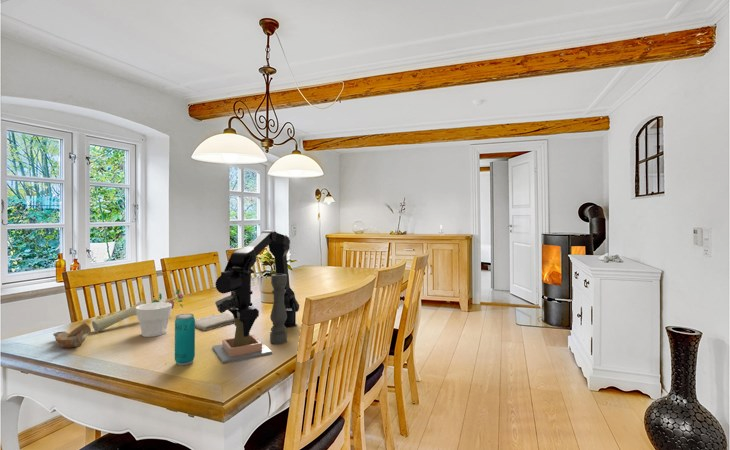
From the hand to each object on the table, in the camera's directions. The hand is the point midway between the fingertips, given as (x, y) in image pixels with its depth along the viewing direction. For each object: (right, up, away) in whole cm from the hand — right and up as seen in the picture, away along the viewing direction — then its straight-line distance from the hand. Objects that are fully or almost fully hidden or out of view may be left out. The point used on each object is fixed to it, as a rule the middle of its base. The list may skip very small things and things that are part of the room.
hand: (241, 332), depth 127 cm
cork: (0, -6, 0) cm, 6 cm away
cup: (-40, -6, +18) cm, 45 cm away
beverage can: (-15, -7, -11) cm, 19 cm away
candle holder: (+10, -6, +10) cm, 16 cm away
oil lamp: (-62, -6, +4) cm, 63 cm away
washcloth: (-22, -6, +32) cm, 40 cm away
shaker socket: (0, -6, 0) cm, 6 cm away
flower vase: (-55, -5, +32) cm, 64 cm away
